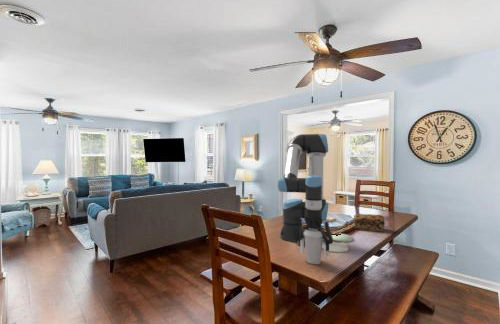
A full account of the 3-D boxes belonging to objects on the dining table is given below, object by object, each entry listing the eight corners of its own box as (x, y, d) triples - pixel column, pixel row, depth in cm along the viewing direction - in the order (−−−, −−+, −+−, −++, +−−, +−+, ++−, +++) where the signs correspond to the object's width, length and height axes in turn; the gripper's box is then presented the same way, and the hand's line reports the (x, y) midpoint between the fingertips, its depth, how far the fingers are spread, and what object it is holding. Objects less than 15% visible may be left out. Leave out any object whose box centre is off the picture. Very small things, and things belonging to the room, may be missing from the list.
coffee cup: (328, 262, 116) (328, 230, 116) (314, 267, 111) (314, 234, 111) (312, 255, 124) (312, 225, 124) (298, 260, 119) (298, 229, 118)
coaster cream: (318, 249, 132) (318, 247, 132) (324, 241, 144) (324, 240, 144) (346, 254, 125) (346, 253, 125) (350, 246, 137) (350, 244, 137)
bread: (383, 228, 171) (383, 214, 171) (384, 232, 161) (385, 217, 161) (354, 225, 179) (354, 211, 178) (353, 229, 169) (353, 215, 169)
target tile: (315, 240, 147) (315, 239, 147) (318, 237, 153) (318, 235, 153) (327, 242, 143) (327, 241, 143) (329, 238, 149) (329, 237, 149)
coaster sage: (326, 239, 148) (326, 238, 148) (331, 233, 160) (331, 232, 160) (351, 243, 141) (351, 242, 141) (354, 236, 153) (354, 235, 153)
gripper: (287, 207, 120) (287, 253, 120) (337, 212, 108) (337, 263, 108) (293, 204, 126) (293, 248, 126) (340, 209, 114) (340, 257, 115)
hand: (313, 255), depth 117 cm, fingers open, 10 cm apart
